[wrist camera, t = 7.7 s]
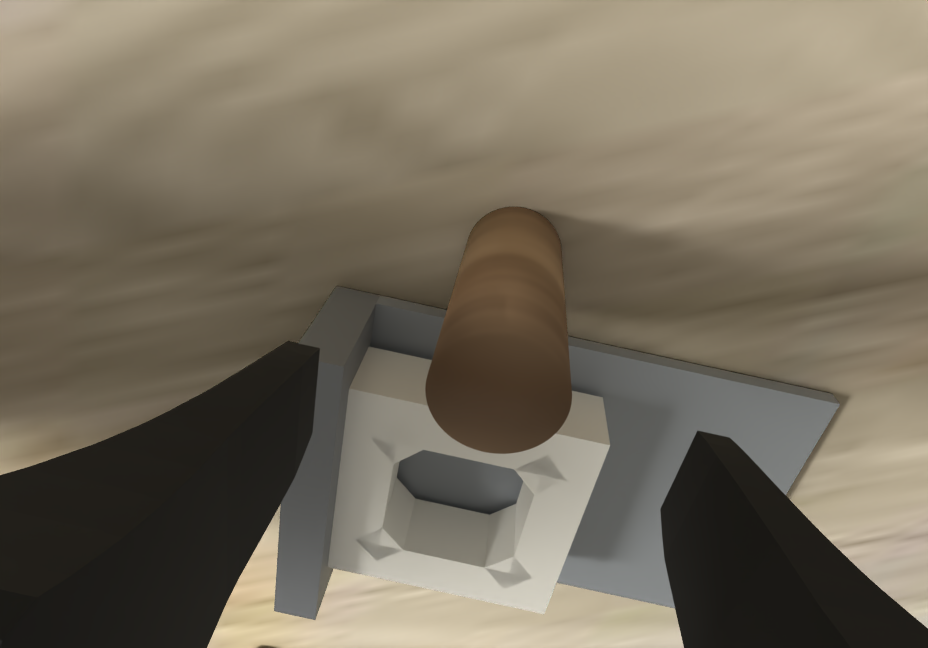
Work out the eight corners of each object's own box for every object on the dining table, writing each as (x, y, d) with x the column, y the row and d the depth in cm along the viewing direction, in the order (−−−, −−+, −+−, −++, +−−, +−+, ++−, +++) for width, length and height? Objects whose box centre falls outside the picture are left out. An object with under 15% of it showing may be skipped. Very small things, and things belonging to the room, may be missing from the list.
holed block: (543, 559, 25) (544, 614, 23) (346, 515, 25) (327, 567, 23) (602, 397, 21) (609, 445, 19) (368, 346, 21) (349, 388, 19)
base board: (709, 604, 26) (739, 712, 22) (313, 517, 26) (274, 611, 23) (832, 393, 21) (899, 488, 17) (336, 286, 21) (290, 355, 17)
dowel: (548, 304, 21) (551, 466, 14) (458, 285, 21) (415, 437, 14) (572, 217, 19) (590, 349, 12) (475, 197, 19) (437, 316, 12)
